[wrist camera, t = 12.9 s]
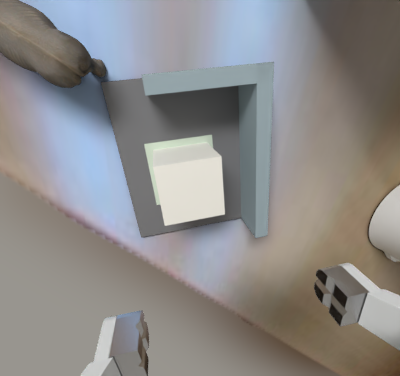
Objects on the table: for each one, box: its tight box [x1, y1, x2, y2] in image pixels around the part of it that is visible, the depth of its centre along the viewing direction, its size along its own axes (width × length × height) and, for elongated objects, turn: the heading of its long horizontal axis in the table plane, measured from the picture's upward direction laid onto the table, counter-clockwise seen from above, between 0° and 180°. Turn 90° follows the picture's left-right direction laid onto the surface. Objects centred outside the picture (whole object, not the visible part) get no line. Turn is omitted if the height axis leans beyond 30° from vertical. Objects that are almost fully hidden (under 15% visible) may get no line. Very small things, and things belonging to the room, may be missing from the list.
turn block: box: [153, 142, 225, 226], centre depth 23 cm, size 6×6×6 cm
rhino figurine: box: [0, 0, 106, 88], centre depth 16 cm, size 4×14×6 cm, turn 57°
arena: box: [101, 62, 274, 238], centre depth 23 cm, size 15×18×5 cm
